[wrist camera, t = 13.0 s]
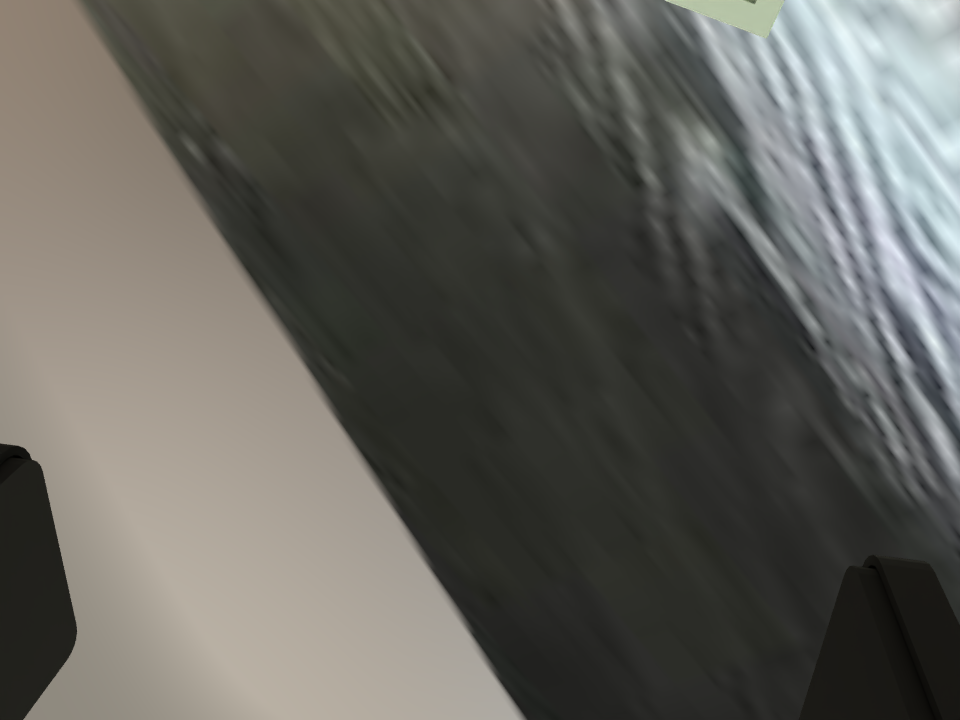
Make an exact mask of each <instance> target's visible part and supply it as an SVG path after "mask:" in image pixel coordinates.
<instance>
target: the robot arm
mask: <svg viewBox="0 0 960 720" xmlns="http://www.w3.org/2000/svg"><path fill="white" fill-rule="evenodd" d="M76 635H77V627H76V621H75V616H74V612H73V607H72V602H71V598H70V594H69V589H68V584H67V580H66V575H65V570H64V566H63V561H62V557H61V552H60V548H59V543H58V539H57V534H56V530H55V525H54V521H53V516H52V511H51V507H50V502H49V498H48V493H47V489H46V484H45V479H44V475H43V471H42V468H41V466H40V464H38V462H36V461H34V460H32V459H31V457H30V454H29V453H28V452H27V451H26V449H25V448H23V447H20V446H15V445H7V444H0V720H23V719H24V718H25V716H26V715H27V714H28V712H29V711H30V710H31V708H32V707H33V705H34V704H35V703H36V701H37V700H38V699H39V697H40V696H41V695H42V693H43V692H44V691H45V689H46V688H47V686H48V685H49V684H50V682H51V681H52V679H53V678H54V677H55V676H56V674H57V673H58V672H59V670H60V669H61V667H62V666H63V665H64V663H65V662H66V661H67V659H68V658H69V656H70V654H71V652H72V650H73V647H74V645H75V641H76ZM799 720H960V625H959V623H958V621H957V619H956V617H955V615H954V612H953V610H952V608H951V606H950V604H949V602H948V600H947V598H946V595H945V593H944V591H943V589H942V587H941V585H940V583H939V581H938V578H937V576H936V574H935V572H934V570H933V569H932V567H931V566H930V564H928V563H927V562H925V561H918V560H910V559H902V558H894V557H886V556H879V555H871V556H869V557H868V558H867V559H866V560H865V562H864V564H863V566H862V567H858V566H849V567H848V569H847V570H846V572H845V575H844V577H843V581H842V584H841V587H840V590H839V593H838V596H837V600H836V603H835V606H834V609H833V612H832V616H831V619H830V622H829V625H828V628H827V631H826V635H825V638H824V641H823V644H822V647H821V651H820V654H819V657H818V660H817V663H816V667H815V670H814V673H813V676H812V679H811V682H810V686H809V689H808V692H807V695H806V698H805V702H804V705H803V708H802V711H801V714H800V717H799Z"/></svg>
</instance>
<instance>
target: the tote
mask: <svg viewBox="0 0 960 720" xmlns="http://www.w3.org/2000/svg"><path fill="white" fill-rule="evenodd" d="M665 1H668V2H670V3H673V4H676V5H678V6H681V7H684V8H686V9H689V10H692V11H694V12H697V13H700V14H702V15H705V16H708V17H710V18H713V19H716V20H718V21H721V22H724V23H726V24H729V25H732V26H734V27H737V28H740V29H742V30H745V31H748V32H750V33H753V34H756V35H758V36H761V37H764V38H766V39H767V37H768V35H769V32H770V30H771V28H772V26H773V24H774V22H775V20H776V18H777V15H778V13H779V11H780V9H781V7H782V5H783V3H784V0H665Z"/></svg>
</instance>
